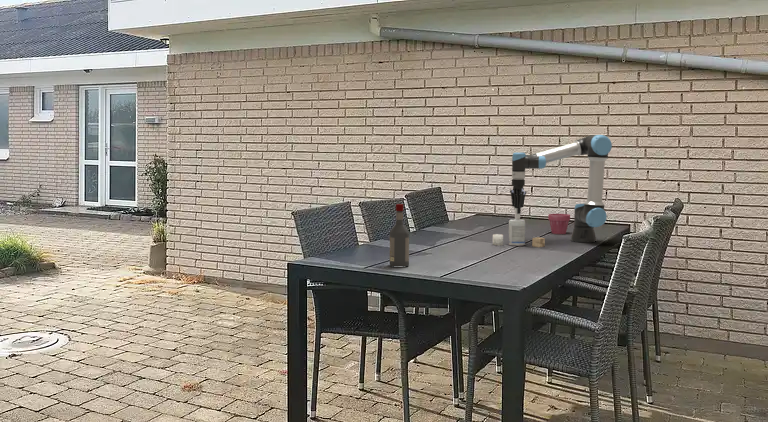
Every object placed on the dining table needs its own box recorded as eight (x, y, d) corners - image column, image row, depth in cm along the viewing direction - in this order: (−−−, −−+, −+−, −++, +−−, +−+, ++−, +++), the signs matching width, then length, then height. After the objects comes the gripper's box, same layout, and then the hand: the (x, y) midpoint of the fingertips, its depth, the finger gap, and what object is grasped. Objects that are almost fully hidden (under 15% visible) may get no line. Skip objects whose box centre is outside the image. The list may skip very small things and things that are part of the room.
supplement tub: (528, 245, 419) (529, 220, 417) (516, 246, 414) (517, 221, 412) (516, 243, 427) (517, 218, 425) (505, 244, 422) (505, 219, 420)
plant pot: (552, 231, 484) (553, 212, 483) (572, 233, 476) (573, 214, 475) (544, 233, 473) (544, 214, 471) (564, 235, 464) (565, 215, 463)
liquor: (407, 264, 352) (408, 203, 349) (409, 267, 342) (409, 205, 340) (389, 264, 351) (389, 203, 348) (390, 267, 342) (390, 205, 339)
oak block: (537, 245, 418) (537, 237, 418) (544, 246, 415) (544, 238, 414) (532, 246, 415) (532, 238, 415) (539, 247, 411) (539, 238, 411)
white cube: (498, 243, 424) (499, 233, 424) (504, 245, 419) (505, 235, 418) (490, 244, 422) (490, 234, 421) (496, 245, 416) (496, 235, 416)
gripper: (506, 178, 421) (505, 218, 423) (519, 179, 409) (519, 220, 411) (516, 178, 424) (515, 217, 426) (530, 179, 412) (529, 220, 415)
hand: (517, 219), depth 419 cm, fingers closed
